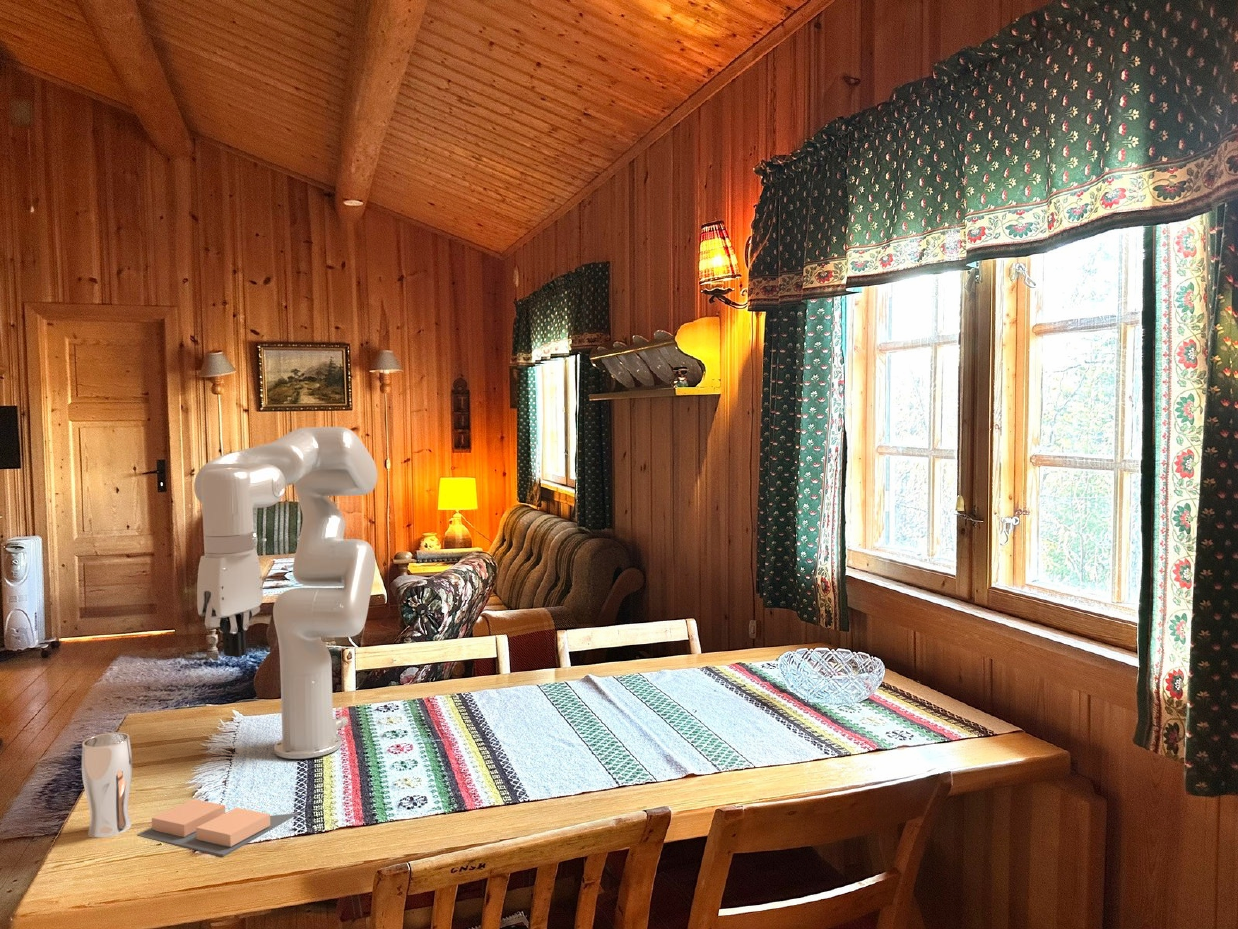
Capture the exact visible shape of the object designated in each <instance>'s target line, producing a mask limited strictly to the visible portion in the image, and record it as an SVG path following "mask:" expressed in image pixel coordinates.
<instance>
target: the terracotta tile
mask: <svg viewBox="0 0 1238 929" xmlns="http://www.w3.org/2000/svg"><path fill="white" fill-rule="evenodd" d="M225 813H226V805H225V804H220V803H215V802H210V801H205V800H199V799H196V798H193V799H190V800H188V801H186V802H184V803H182V804H181V803H180V804H179V805H177V806H174V807H173V808H170V809H168V810H166V811H163V812H162V813H160V814H157V815H154V816H152V817H151V828H152V829H154V830H155V831H159V832H164V833H168V834H173V835H177V836H182V837H186V836H188V835H190V834H192V833H194V832H196V827H198V826H200V825H202V824H204V823H206V822H208V821H210V820H212V819H214V818H216V817H219V816H221V815H223V814H225Z"/></svg>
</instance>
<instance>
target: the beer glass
mask: <svg viewBox="0 0 1238 929" xmlns="http://www.w3.org/2000/svg"><path fill="white" fill-rule="evenodd" d="M81 746H82V748H81V775H82V777H81V778H82V783H83V787H84V788H83V789H84V792H85V796H86V800H87V803H88V808H89V818H90V819H89V825H88V832H87V836H88V837H90V838H108V837H114V836H117V835H120V834H122V833H124V832H126V831H128V830H130V828H131V827H132V822H131V817H130V813H129V799H130V798H129V797H130V790H131V783H132V778H133V777H132V774H133V756H132V755H133V753H132V746H131V739H130V734H128V733H125V732H118V731H117V732H106V733H102V734H97V735H93V736H91V737H88V738H86V739H85V740H84V741H83V742H82V744H81Z"/></svg>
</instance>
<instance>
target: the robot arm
mask: <svg viewBox="0 0 1238 929" xmlns="http://www.w3.org/2000/svg"><path fill="white" fill-rule="evenodd" d="M377 482H378V469H377V465H376V462H375V460H374V459H373V457H372V455H371V453H370V452H369V451H368V449H367V448H366V446H365V444H364V443H363V442H362V440H361V439H360V438H359V436H358V434H356V433H355V432H354V431H353V430H351V429H350V428H347V427H344V426H306V427H300V428H296V429H293V430H291V431H290V432H288V433H286V434H285V435H283V436H281V437H279V438H278V439H275V440H274V441H272V442H269V443H264V444H260V445H257V446H253V447H249V448H245V449H241V450H237V451H233V452H229V453H226V454H223V455H220V456H218V457H216V458H214V459H212V460H210V461H208V462H207V463H205V464H204V465H203V466H201V468H200V469H199V470H198V472H197V473H196V476H195V478H194V482H193V489H194V495H195V497H196V499H197V500H198V502H200V504H201V508H202V509H201V510H202V528H203V530H202V531H203V546H204V548H203V549H204V550H203V551H204V555H201V556H200V559H199V566H198V570H197V571H198V572H197V585H196V587H197V588H196V589H197V590H196V591H197V592H196V600H197V601H196V605H197V613H198V615H199V616H200V617H205V618H204V625H205V626H206V627H212V628H217V629H218V630H219V632H220V633H222V636H223V637H222V639H223V655H224V656H225V657H233V658H240V657H241V656H246V655H247V640H246V639H247V638H246V631H247V630H248V629H249V622H250V620H251V619H252V617H254V616H255V615H257V614H258V613H260V611H261V607H260V606H261V605H262V603H263V600H264V599H263V598H264V590H263V589H264V587H263V578H262V571H261V564H260V559H259V555H258V552H257V549H256V548H255V541H256V539H257V535H256V533H255V528H254V512H253V511H254V508H255V509H257V508H258V509H259V508H261V509H262V508H268V507H272V506H274V505H275V504H277V503H278V502H280V500H281V499H282V498H283V496H284V494H285V491H286V487H287V486H291V485H293V487H294V490H295V494H296V497H297V500H298V502H299V506H300V509H301V514H302V524H301V527H300V528H301V529H300V534H299V538H298V541H297V546H296V549H295V555H294V557H293V558H294V559H293V562H292V563H293V564H292V575H293V578H294V580H295V581H296V582H297V583H298V584H300V585H303V586H308V587H298V588H297V587H296V588H292V589H291V588H290V589H288V590H284V591H283V592H281V593H280V594H279V595H278V596H277V598H276V599H275V601H274V604H273V608H272V614H273V615H272V616H273V622H274V623H273V624H274V626H275V630H276V632H275V633H276V636H277V641H278V642H277V643H278V648H279V649H278V650H279V665H280V666H279V667H280V668H279V669H280V674H279V675H280V700H281V701H280V703H281V734H282V735H281V736H282V739H281V740H279V741H277V742H276V743H275V744H274V746H273V752H274V754H275V755H276V756H278V757H280V758H284V759H293V760H302V759H303V760H304V759H311V758H317V757H322V756H325V755H328V754H331V753H333V752H335V751H337V750H339V749H340V748H341V747H342V744H343V743H342V742H343V740H342V737H341V736H340V735H338V734H337V732H338V731H339V729H341V728H344V727H346V726H348V724H349V719H348V717H347V716H344V715H343V716H341V717H339V718H337V719H335V718H334V715H333V714H334V711H333V710H334V709H333V705H334V704H333V678H332V677H333V674H332V673H333V671H332V670H333V669H332V668H333V667H332V665H333V664H332V658H331V656H332V655H331V653H330V651H329V649H328V647H327V645H326V644H325V643H324V641H323V640H322V638H350V637H351V638H352V637H355V636H357V635H359V634H360V633H361V632H362V631H363V629H364V627H365V624H366V621H367V616H368V612H369V605H370V600H371V599H370V598H371V597H372V596H371V595H372V589H373V585H374V579H375V571H376V556H375V551H374V548H373V546H372V545H371V544H370V543H369V542H368V541H365V540H363V539H360V538H358V539H357V538H344V536H345V535H344V534H345V531H346V525H347V524H346V519H345V517H344V516H343V514H342V512H341V511H340V509H339V508H338V507H337V506H336V505H335V504H334V502H333V501H332V500H331V498H330V497H331V496H332V497H333V496H335V497H337V496H338V497H342V496H344V497H345V496H347V497H351V496H352V497H353V496H357V497H358V496H366V495H368V494H370V493H371V492H373V491H374V490H375V488H376V485H377Z"/></svg>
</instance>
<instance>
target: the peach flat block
mask: <svg viewBox="0 0 1238 929" xmlns="http://www.w3.org/2000/svg"><path fill="white" fill-rule="evenodd" d="M270 816H271V814H269V813H265V812H261V811H256V810H250V809H245V808H241V807H234V808H233V809H231V810H229V811H227V812H225V814H223V815H221V816H219V817H216V818H214V819H212V820H210V821H208V822H206V823H204V824H202V825H200V826H198V827H196V839H198V840H200V841H204V842H209V843H213V844H218V845H222V846H227V847H233V846H235V845H236V844H238V843H240V842H242V841H244V840H246V839H248V838H249V837H251V836H253V835H255V834H257V833H259V832H261V831H262V830H264V829H266V828H268V826H270Z"/></svg>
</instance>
